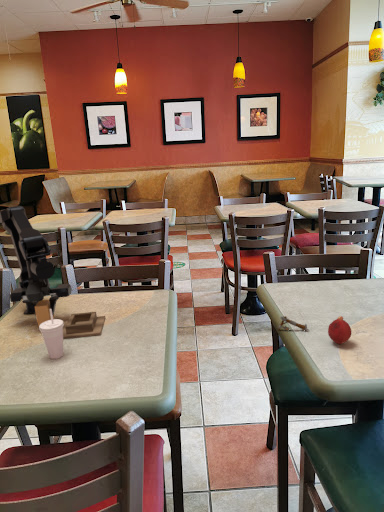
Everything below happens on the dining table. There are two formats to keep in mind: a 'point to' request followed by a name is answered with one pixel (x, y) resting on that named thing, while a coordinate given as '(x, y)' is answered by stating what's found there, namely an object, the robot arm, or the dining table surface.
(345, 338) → the onion
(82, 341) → the dining table surface
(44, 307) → the tan rectangular block
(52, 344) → the smoothie
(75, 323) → the chassis
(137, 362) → the dining table surface
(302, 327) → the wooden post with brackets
